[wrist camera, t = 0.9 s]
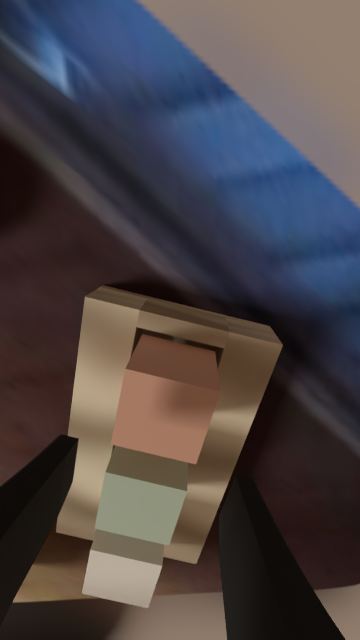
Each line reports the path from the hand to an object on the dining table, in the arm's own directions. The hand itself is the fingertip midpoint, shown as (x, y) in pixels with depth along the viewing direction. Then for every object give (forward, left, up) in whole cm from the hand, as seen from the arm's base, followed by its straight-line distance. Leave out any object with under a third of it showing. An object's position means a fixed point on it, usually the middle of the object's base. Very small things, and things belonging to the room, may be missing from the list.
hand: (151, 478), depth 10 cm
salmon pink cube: (0, 0, -7) cm, 7 cm away
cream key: (-12, 0, -7) cm, 14 cm away
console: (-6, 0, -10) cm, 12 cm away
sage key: (-6, 0, -7) cm, 9 cm away
